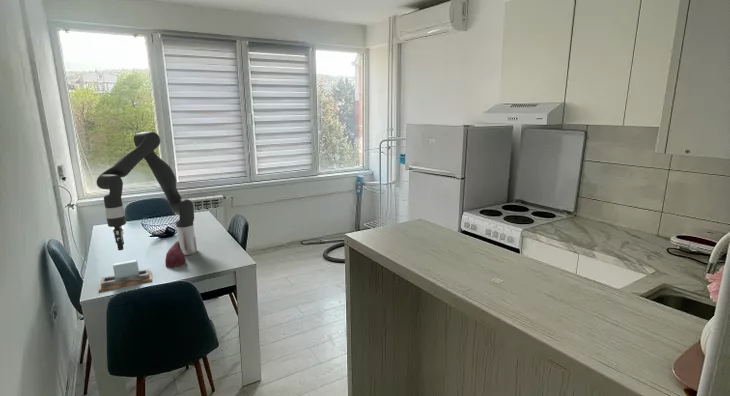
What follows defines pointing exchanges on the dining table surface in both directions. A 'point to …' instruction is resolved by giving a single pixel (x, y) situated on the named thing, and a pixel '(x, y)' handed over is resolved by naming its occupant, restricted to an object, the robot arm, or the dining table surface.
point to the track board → (125, 280)
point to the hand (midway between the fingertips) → (121, 247)
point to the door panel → (125, 269)
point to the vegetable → (175, 256)
